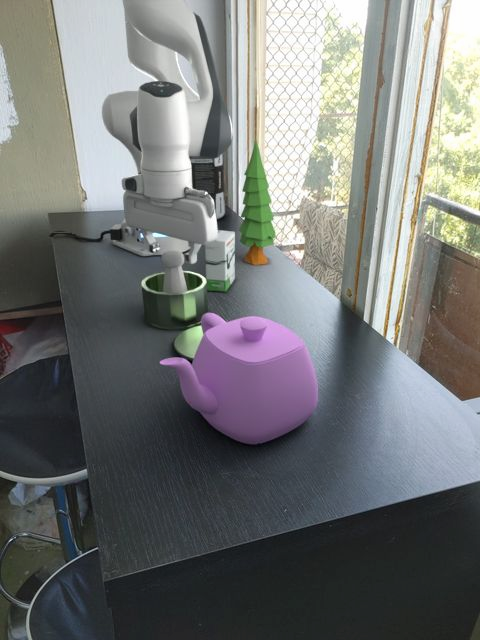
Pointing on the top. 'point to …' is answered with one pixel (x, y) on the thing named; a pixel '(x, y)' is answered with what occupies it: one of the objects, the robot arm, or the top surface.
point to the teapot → (249, 378)
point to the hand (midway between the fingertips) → (172, 257)
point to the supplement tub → (210, 179)
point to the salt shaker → (173, 272)
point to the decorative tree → (256, 211)
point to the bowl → (174, 302)
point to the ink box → (220, 261)
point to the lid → (188, 342)
